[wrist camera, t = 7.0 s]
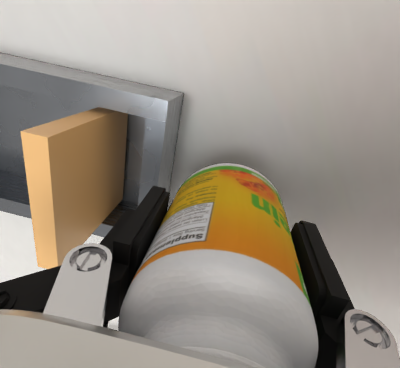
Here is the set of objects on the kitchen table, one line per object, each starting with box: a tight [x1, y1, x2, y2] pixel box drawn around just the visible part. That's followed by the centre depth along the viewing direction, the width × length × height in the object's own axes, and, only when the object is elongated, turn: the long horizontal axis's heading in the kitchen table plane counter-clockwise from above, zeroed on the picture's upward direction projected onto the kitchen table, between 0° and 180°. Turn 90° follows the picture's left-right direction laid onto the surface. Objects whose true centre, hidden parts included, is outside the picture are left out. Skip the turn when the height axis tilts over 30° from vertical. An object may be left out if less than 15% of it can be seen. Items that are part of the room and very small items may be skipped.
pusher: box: [21, 107, 128, 269], centre depth 14 cm, size 4×6×7 cm, turn 169°
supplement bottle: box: [118, 163, 318, 368], centre depth 9 cm, size 5×5×10 cm
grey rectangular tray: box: [0, 53, 184, 237], centre depth 15 cm, size 18×9×5 cm, turn 79°
